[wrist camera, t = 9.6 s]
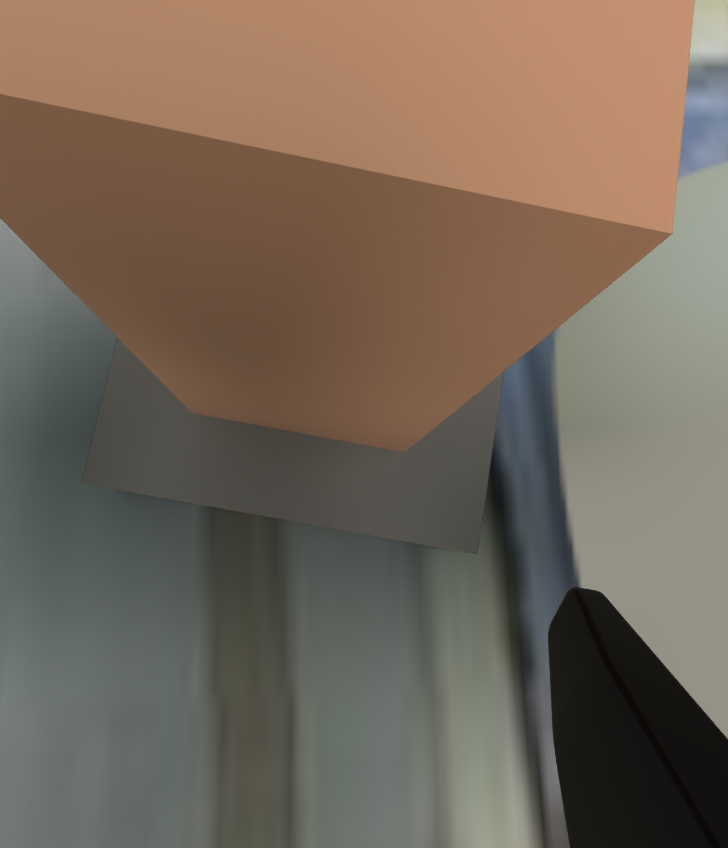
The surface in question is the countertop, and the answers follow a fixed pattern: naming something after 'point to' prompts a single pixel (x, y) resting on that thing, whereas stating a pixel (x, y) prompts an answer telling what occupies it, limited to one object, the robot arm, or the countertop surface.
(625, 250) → the tall block
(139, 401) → the plinth
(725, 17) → the countertop surface
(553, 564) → the countertop surface
